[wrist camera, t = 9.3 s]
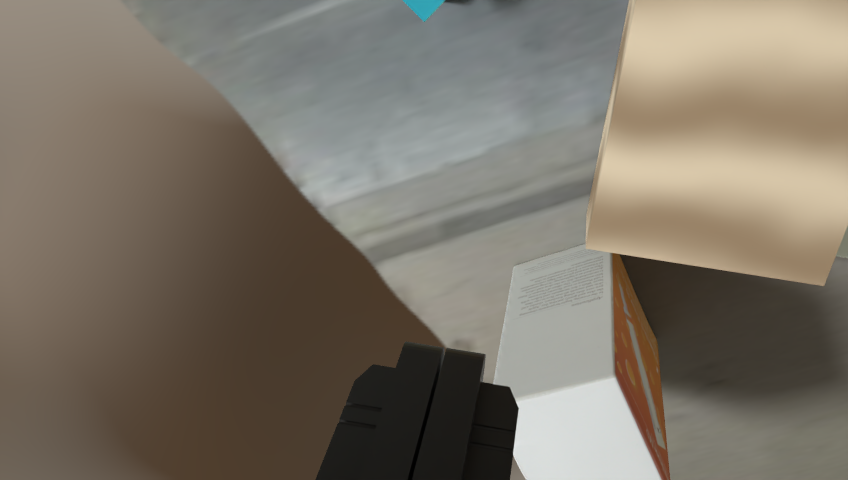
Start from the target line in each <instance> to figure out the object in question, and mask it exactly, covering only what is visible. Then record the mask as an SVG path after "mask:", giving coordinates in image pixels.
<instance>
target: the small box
mask: <svg viewBox="0 0 848 480" xmlns="http://www.w3.org/2000/svg"><path fill="white" fill-rule="evenodd" d="M493 384H496V385H502V386H508V387H510V389H511V391H512V394H513V396H514V398H515V401H516V403H517V406H518V408H519V410H518V418H517V426H516V434H515V442H514V450H513V455H514V458H515V460H516V462H517V464H518V466H519V468H520V470H521V472H522V474H523V475H524V477H525V479H526V480H670V473H669V463H668V452H667V441H666V430H665V418H664V409H663V399H662V389H661V378H660V365H659V354H658V345H657V339H656V337H655V336H654V334H653V331H652V329H651V327H650V325H649V323H648V321H647V319H646V316H645V314H644V312H643V310H642V307H641V305H640V302H639V300H638V298H637V296H636V293H635V291H634V289H633V286H632V284H631V281H630V279H629V277H628V274H627V272H626V269H625V267H624V264H623V262H622V259H621V257H620V255H619V254H616V253H610V252H604V251H597V250H591V249H586V244H583V245H579V246H576V247H573V248H570V249H567V250H564V251H560V252H557V253H554V254H550V255H547V256H544V257H541V258H538V259H534V260H531V261H529V262H525V263H522V264H519V265H516V266H514V268H513V274H512V280H511V286H510V291H509V297H508V303H507V308H506V314H505V320H504V325H503V331H502V336H501V342H500V348H499V353H498V359H497V365H496V371H495V377H494V382H493Z"/></svg>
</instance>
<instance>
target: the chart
mask: <svg viewBox="0 0 848 480" xmlns="http://www.w3.org/2000/svg"><path fill="white" fill-rule="evenodd" d="M403 1H404V2H405V3H406V4H407V5H408V6H409V7H410V8H411V9H412V10H413V11H414V12H415V13H416V14H417V15H418V16H419V17H420V18H421V19H422V20H423V21H424V22H425V21H426V20H427V19H428V18H429V17H430V16H431V15H432V14H433V13H434V12H435V11H436V10H437V8H438V7H439V6H440V5H441V4H442V3H443V2H444V1H445V0H403Z"/></svg>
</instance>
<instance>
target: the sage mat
mask: <svg viewBox="0 0 848 480" xmlns="http://www.w3.org/2000/svg"><path fill="white" fill-rule="evenodd" d="M836 256H838V257H844V258H848V226H847V229H846V231H845V234H844V236H843V239H842V241H841V244H840V246H839V249H838V251H837V254H836Z"/></svg>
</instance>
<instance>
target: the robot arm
mask: <svg viewBox="0 0 848 480" xmlns="http://www.w3.org/2000/svg"><path fill="white" fill-rule="evenodd" d="M484 366H485V354H481V353H475V352H469V351H462V350H456V349H450V348H447V349H446V352H445V355H444V348H443V347H436V346H430V345H424V344H417V343H411V342H405V343H404V346H403V348H402V351H401V354H400V357H399V360H398V363H397V366H396V368H391V367H385V366H380V365H372V366H371V367H370V368H368V370H366V371H365V372H364V373H363V374H362V375H361V376H360V377H359V378H357V379H356V380H355V381H354V384H353V386H352V389H351V392H350V394H349V397H348V399H347V402H346V406H345V407H344V409H343V412H342V414H341V417H340V421H339V423H338V424H337V427H336V429H335V432H334V434H333V437H332V439H331V442H330V444H329V447H328V450H327V452H326V455H325V457H324V460H323V462H322V465H321V467H320V470H319V472H318V475H317V478H316V480H510V474H511V466H512V458H513V450H514V442H515V434H516V426H517V418H518V410H519V408H518V406H517V403H516V401H515V398H514V396H513V394H512V391H511V389H510V387H508V386H502V385H496V384H490V383H484V382H483V374H484Z"/></svg>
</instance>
